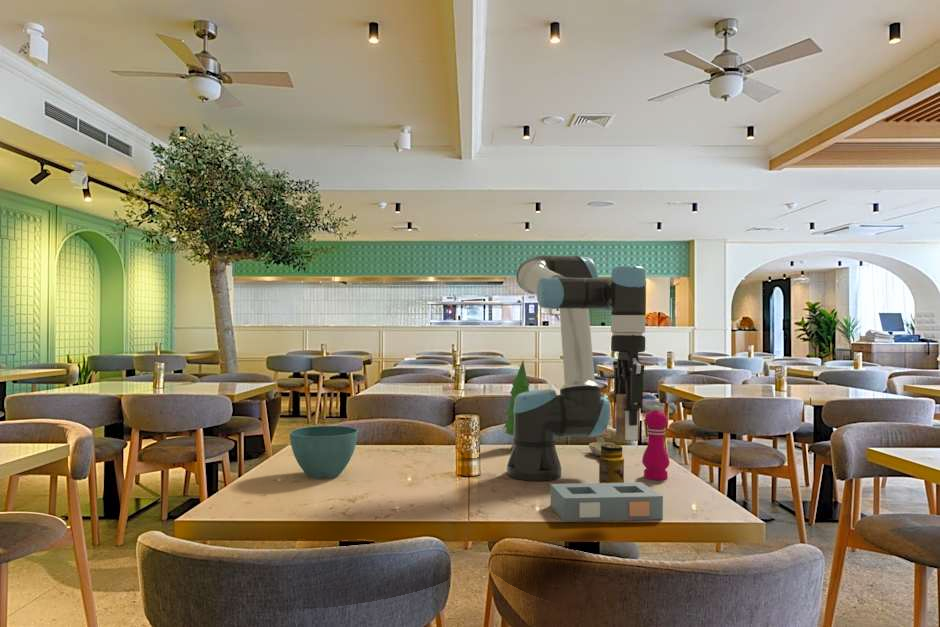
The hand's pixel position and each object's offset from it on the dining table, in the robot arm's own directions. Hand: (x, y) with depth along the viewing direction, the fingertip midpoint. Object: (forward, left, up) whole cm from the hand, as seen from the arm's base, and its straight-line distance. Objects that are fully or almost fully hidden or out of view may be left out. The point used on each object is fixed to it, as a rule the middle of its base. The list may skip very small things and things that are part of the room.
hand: (627, 437), depth 143 cm
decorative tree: (-47, +55, -17) cm, 75 cm away
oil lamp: (-19, +58, -17) cm, 64 cm away
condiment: (-7, +13, -17) cm, 23 cm away
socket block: (-4, -3, -17) cm, 18 cm away
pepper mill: (+1, +36, -17) cm, 40 cm away
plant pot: (-81, -5, -17) cm, 83 cm away
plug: (0, 0, 0) cm, 0 cm away
